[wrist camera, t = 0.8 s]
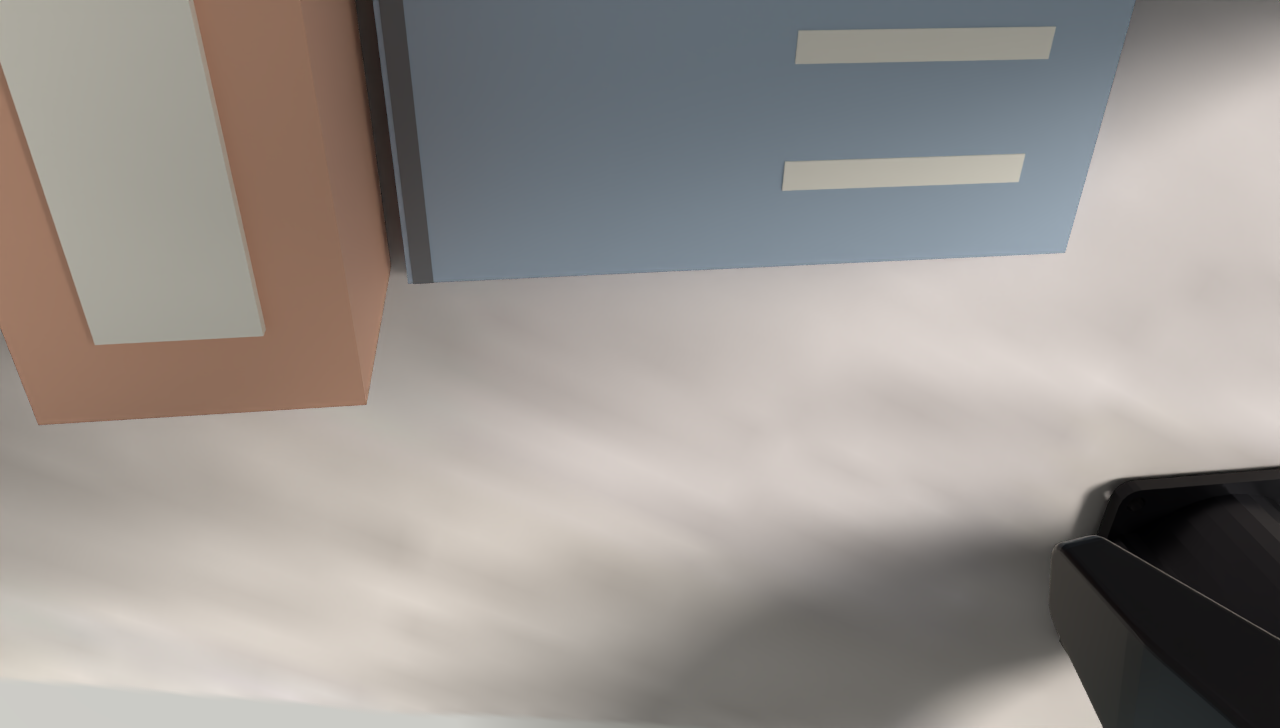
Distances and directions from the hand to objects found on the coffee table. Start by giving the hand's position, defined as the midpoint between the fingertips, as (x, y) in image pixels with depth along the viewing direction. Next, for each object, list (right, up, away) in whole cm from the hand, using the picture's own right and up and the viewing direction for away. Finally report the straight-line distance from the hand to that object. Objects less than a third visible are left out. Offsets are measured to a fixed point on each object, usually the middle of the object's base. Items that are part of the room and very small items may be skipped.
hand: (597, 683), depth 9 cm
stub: (-7, +9, +8) cm, 14 cm away
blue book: (+3, +9, +9) cm, 13 cm away
